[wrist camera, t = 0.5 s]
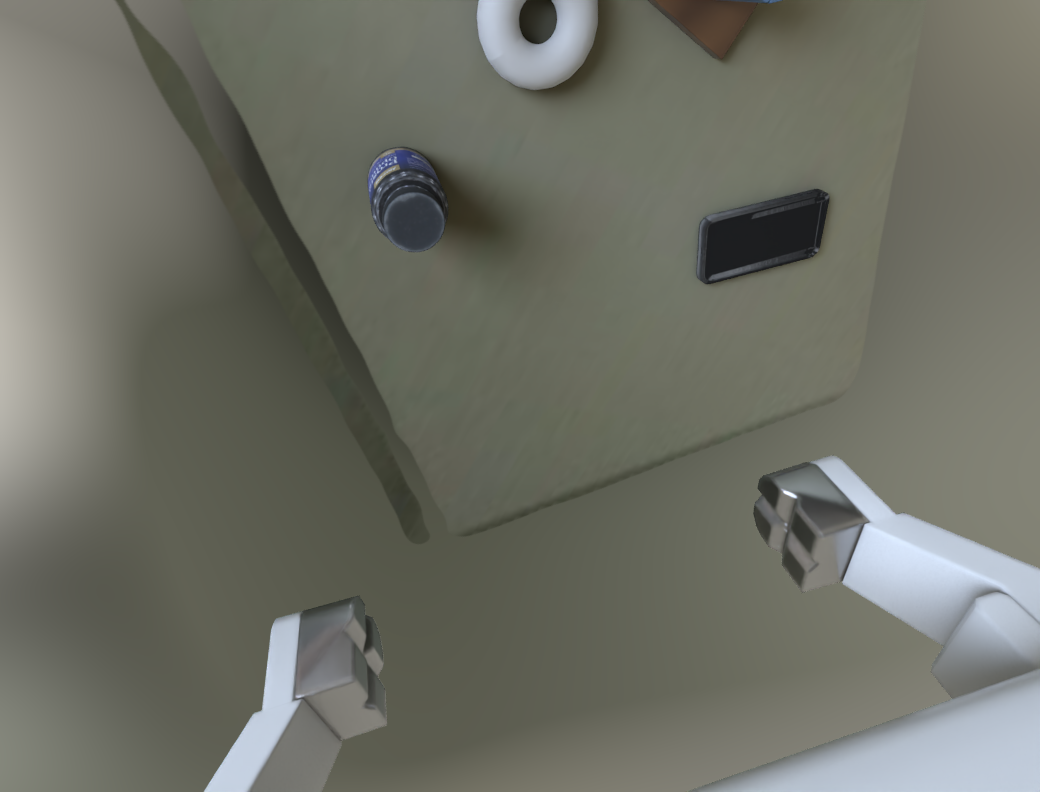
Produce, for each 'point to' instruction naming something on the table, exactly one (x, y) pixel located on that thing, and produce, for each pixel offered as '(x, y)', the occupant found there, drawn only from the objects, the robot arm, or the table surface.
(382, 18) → the table surface
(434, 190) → the pill bottle
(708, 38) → the dowel stand
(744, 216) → the phone
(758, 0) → the tube
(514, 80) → the donut
